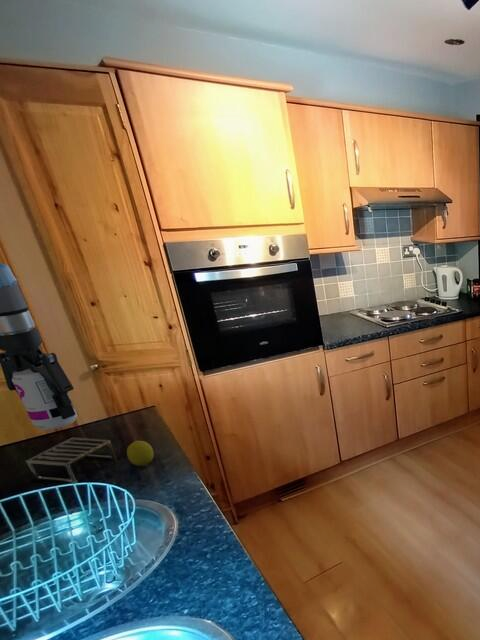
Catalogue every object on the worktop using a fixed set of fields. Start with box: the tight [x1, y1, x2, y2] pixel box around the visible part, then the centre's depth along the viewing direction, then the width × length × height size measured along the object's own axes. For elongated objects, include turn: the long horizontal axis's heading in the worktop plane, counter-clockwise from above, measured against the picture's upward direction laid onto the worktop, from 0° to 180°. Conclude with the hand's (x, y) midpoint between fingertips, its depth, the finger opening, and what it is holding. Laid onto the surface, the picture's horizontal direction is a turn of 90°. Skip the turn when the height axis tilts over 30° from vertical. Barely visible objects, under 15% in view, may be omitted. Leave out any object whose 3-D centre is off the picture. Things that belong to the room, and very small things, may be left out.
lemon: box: [126, 440, 155, 467], centre depth 124 cm, size 6×6×8 cm
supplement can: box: [12, 365, 78, 431], centre depth 113 cm, size 8×8×15 cm
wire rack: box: [24, 436, 119, 484], centre depth 121 cm, size 12×12×7 cm
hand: (53, 415), depth 116 cm, fingers closed on supplement can, 8 cm apart
